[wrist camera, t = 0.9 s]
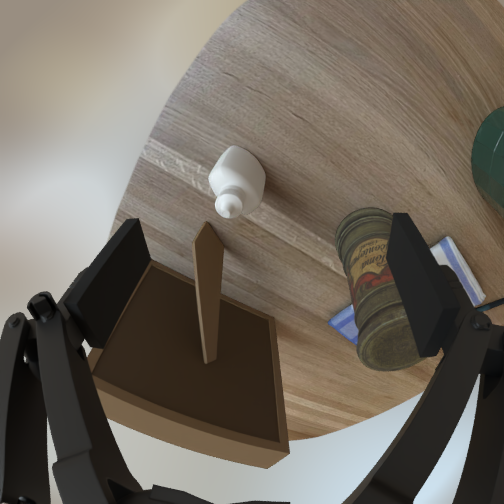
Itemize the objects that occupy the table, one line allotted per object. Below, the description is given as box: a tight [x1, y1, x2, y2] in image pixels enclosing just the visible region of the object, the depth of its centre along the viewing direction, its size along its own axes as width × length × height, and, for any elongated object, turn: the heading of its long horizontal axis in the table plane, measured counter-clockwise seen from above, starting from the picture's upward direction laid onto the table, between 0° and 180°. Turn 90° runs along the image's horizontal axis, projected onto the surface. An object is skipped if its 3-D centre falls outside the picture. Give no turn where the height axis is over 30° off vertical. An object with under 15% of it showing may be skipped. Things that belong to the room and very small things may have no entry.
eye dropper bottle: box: [209, 145, 266, 218], centre depth 30 cm, size 4×6×12 cm
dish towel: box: [328, 236, 486, 345], centre depth 43 cm, size 17×24×3 cm
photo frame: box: [87, 221, 290, 469], centre depth 35 cm, size 15×22×25 cm
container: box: [335, 208, 427, 371], centre depth 31 cm, size 9×9×18 cm
